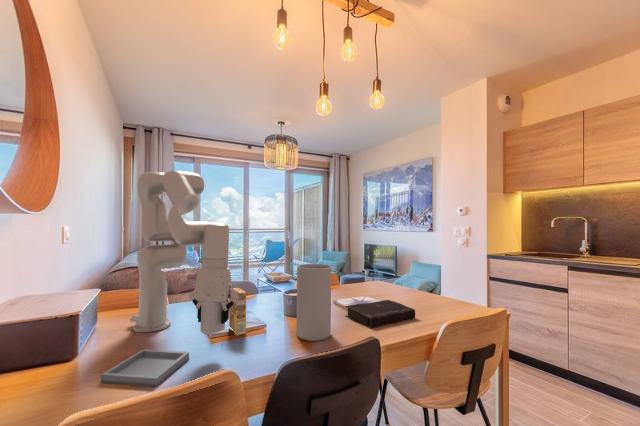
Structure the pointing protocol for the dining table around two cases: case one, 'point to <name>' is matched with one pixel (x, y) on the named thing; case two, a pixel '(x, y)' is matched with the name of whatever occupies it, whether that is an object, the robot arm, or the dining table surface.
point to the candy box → (238, 313)
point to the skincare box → (211, 316)
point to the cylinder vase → (313, 302)
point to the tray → (145, 368)
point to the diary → (380, 313)
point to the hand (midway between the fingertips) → (212, 321)
